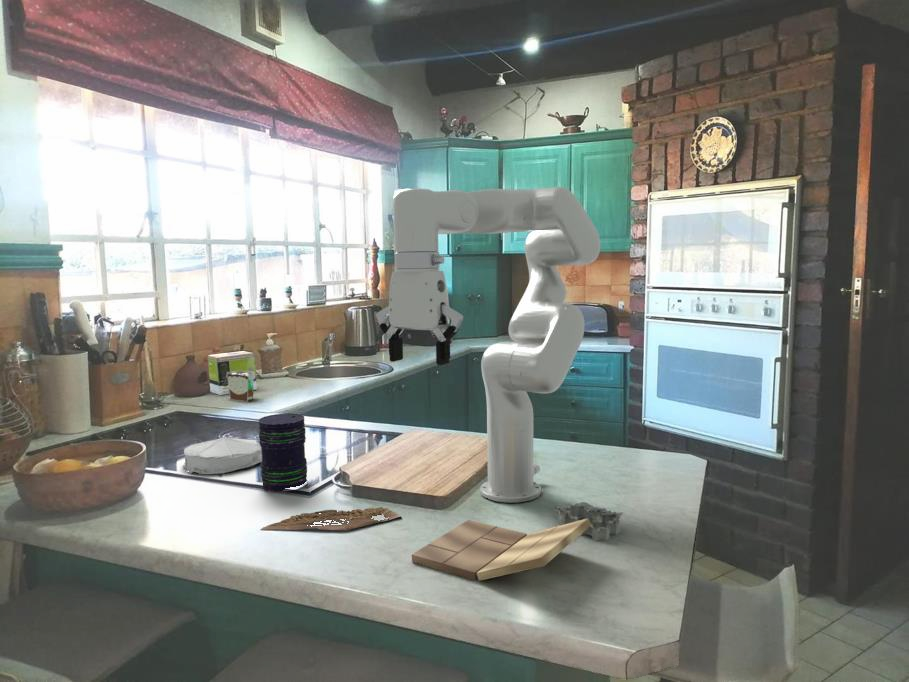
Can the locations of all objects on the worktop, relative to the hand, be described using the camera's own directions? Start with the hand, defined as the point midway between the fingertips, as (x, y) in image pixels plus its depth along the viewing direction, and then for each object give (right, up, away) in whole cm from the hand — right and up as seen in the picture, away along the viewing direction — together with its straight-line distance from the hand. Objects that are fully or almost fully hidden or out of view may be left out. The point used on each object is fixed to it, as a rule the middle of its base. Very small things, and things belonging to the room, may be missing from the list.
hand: (419, 362), depth 116 cm
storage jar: (-31, -28, +31) cm, 52 cm away
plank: (+19, -29, -11) cm, 37 cm away
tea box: (-79, -16, +142) cm, 163 cm away
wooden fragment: (-17, -31, +9) cm, 36 cm away
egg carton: (+30, -31, +4) cm, 43 cm away
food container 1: (-51, -27, +49) cm, 75 cm away
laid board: (+9, -31, -4) cm, 33 cm away
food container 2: (-70, -18, +126) cm, 145 cm away
